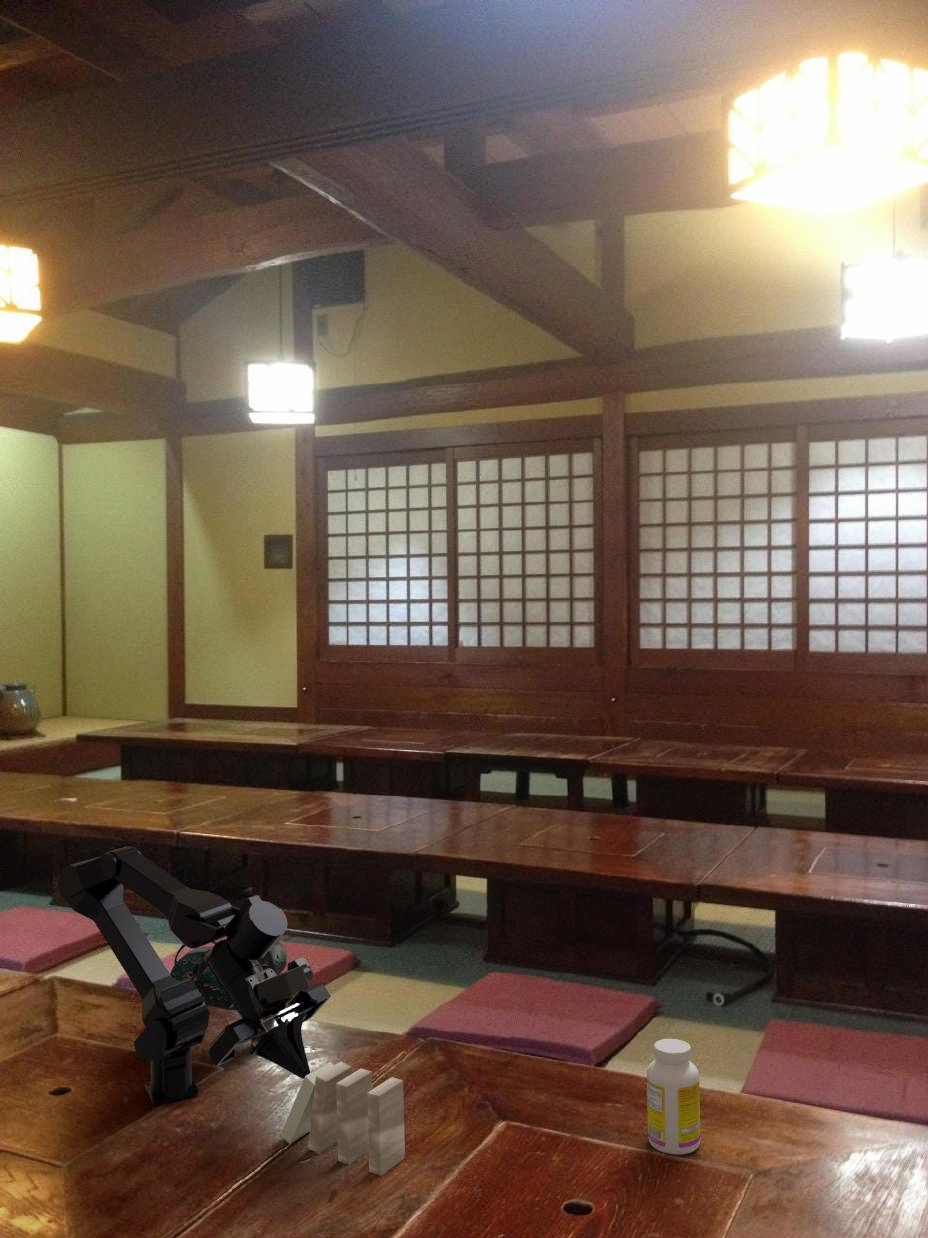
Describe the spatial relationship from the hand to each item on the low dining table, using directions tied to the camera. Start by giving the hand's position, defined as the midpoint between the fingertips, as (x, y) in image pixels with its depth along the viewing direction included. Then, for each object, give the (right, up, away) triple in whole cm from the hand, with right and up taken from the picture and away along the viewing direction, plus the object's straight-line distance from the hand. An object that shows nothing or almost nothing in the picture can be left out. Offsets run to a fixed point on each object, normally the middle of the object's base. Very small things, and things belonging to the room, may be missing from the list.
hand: (306, 1076), depth 147 cm
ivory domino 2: (+7, -8, -4) cm, 12 cm away
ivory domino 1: (+3, -8, -1) cm, 9 cm away
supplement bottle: (+48, -8, -3) cm, 49 cm away
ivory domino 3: (+11, -8, -7) cm, 15 cm away
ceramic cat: (-17, -8, +31) cm, 36 cm away
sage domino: (-1, -8, +1) cm, 8 cm away
